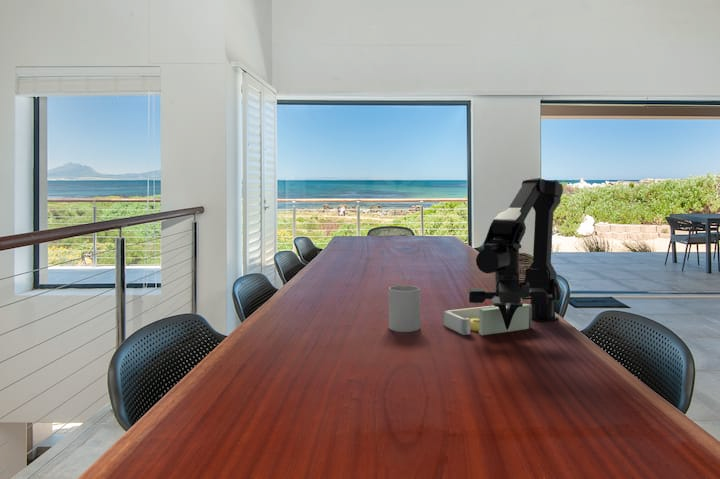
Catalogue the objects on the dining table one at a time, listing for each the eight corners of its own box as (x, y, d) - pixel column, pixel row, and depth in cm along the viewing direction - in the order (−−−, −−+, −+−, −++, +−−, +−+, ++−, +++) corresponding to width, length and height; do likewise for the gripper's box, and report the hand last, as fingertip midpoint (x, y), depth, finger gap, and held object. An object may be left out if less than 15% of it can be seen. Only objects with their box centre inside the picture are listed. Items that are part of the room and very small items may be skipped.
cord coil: (480, 324, 128) (480, 317, 128) (492, 330, 123) (492, 322, 123) (462, 326, 126) (462, 319, 126) (474, 332, 121) (474, 324, 121)
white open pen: (504, 317, 135) (504, 295, 135) (532, 328, 124) (532, 304, 124) (443, 325, 128) (443, 302, 127) (467, 336, 117) (467, 311, 116)
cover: (525, 327, 125) (526, 303, 124) (530, 329, 123) (530, 305, 123) (479, 334, 119) (479, 309, 119) (483, 335, 118) (483, 310, 117)
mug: (415, 333, 120) (415, 292, 119) (384, 330, 123) (384, 290, 122) (426, 322, 131) (426, 284, 130) (397, 319, 134) (397, 282, 133)
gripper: (469, 273, 109) (470, 337, 110) (553, 273, 105) (553, 340, 107) (468, 266, 120) (468, 324, 121) (544, 266, 116) (543, 326, 118)
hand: (507, 329), depth 116 cm, fingers closed
